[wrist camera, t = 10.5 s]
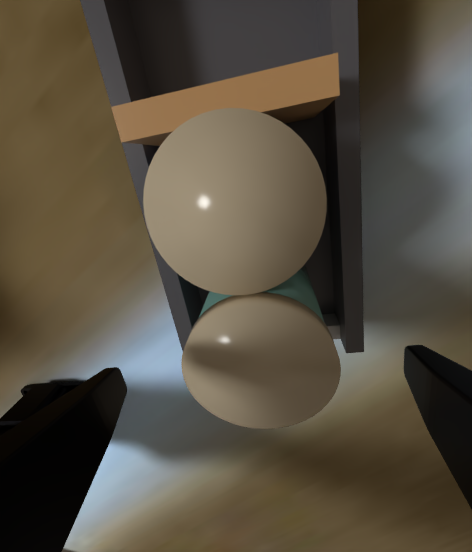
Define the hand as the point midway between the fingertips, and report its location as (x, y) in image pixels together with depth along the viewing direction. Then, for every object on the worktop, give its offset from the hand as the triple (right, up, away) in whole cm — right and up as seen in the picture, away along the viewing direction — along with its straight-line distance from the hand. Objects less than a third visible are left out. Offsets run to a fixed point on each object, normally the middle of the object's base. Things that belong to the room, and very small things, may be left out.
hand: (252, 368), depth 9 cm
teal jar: (+1, +2, +10) cm, 10 cm away
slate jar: (0, +8, +8) cm, 11 cm away
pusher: (0, +11, +7) cm, 13 cm away
